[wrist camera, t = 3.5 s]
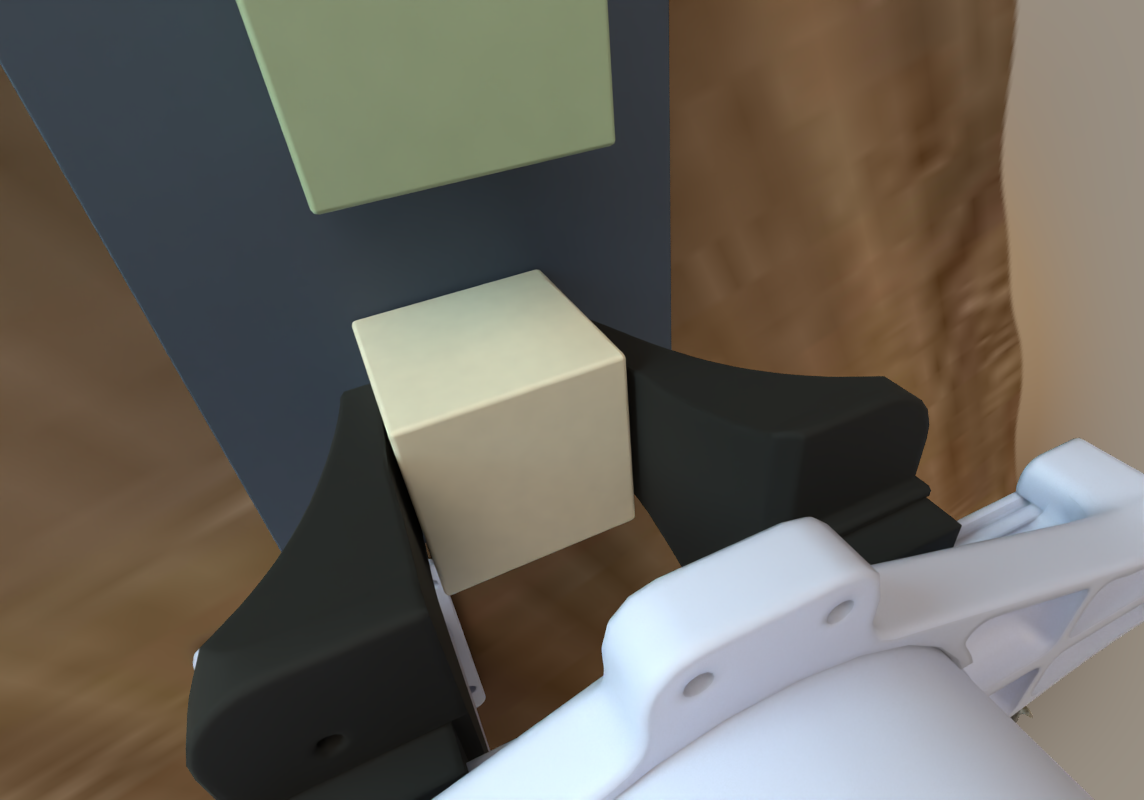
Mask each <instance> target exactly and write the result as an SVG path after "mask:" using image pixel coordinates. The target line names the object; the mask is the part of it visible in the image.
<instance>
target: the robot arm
mask: <svg viewBox="0 0 1144 800" xmlns="http://www.w3.org/2000/svg"><path fill="white" fill-rule="evenodd" d="M589 320H590V319H589ZM590 321H591V322H592V323H593V324H594V325H595V326H596V327H597V328H598V329H599V330H600V331H601V332H602V333H603V334H604V335H605V336H606V337H607V338H608V339H609V340H610V341H611V342H612V343H613V344H614V345H615V346H616V347H617V348H618V349H619V350H620V351H621V352H622V353H623V354H624V355H625V358H626V372H627V389H628V406H629V423H630V440H631V457H632V474H633V491H634V494H635V495H636V497H637V498H638V499H639V500H640V502H641V503H642V505H643V506H644V507H645V509H646V510H647V512H648V513H649V514H650V516H651V518H652V519H653V521H654V522H655V524H656V526H657V527H658V529H659V530H660V532H661V533H662V535H663V537H664V538H665V540H666V541H667V543H668V545H669V546H670V548H671V550H672V551H673V553H674V555H675V556H676V558H677V560H678V561H679V563H680V565H681V566H682V567H681V568H679V569H677V570H675V571H672V572H670V573H668V574H666V575H663V576H661V577H659V578H657V579H655V580H653V581H652V582H650V583H649V584H647V585H646V586H644V587H643V588H641V589H640V590H638V591H636V592H635V593H633V594H632V595H630V596H629V597H628V598H627V599H626V600H625V602H624V603H623V604H622V605H621V606H620V608H619V609H618V610H617V611H616V612H615V614H614V615H613V616H612V617H611V618H610V620H609V622H608V625H607V628H606V632H605V636H604V640H603V644H602V648H601V649H602V657H603V665H604V676H602V677H601V678H599V679H598V680H596V681H595V682H594V683H592V684H591V685H590V686H588V687H587V688H585V689H584V690H583V691H581V692H580V693H578V694H577V695H576V696H574V697H573V698H572V699H570V700H569V701H567V702H566V703H565V704H563V705H562V706H560V707H559V708H558V709H556V710H555V711H554V712H552V713H551V714H549V715H548V716H547V717H545V718H544V719H542V720H541V721H540V722H538V723H537V724H536V725H534V726H533V727H531V728H530V729H529V730H527V731H526V732H524V733H523V734H522V735H520V736H519V737H518V738H516V739H514V740H512V741H510V742H508V743H506V744H503V745H501V746H499V747H497V748H495V749H493V750H491V751H490V749H489V745H488V742H487V739H486V736H485V733H484V730H483V727H482V724H481V721H480V718H479V715H478V712H477V709H476V708H477V707H479V706H480V705H481V704H482V703H483V702H484V701H485V699H486V696H485V693H484V690H483V687H482V684H481V682H480V679H479V676H478V673H477V670H476V667H475V665H474V662H473V659H472V656H471V653H470V650H469V648H468V645H467V642H466V639H465V636H464V633H463V631H462V628H461V625H460V622H459V619H458V616H457V614H456V611H455V608H454V605H453V602H452V599H451V597H450V595H447V594H446V593H445V592H444V590H443V587H442V585H441V582H440V579H439V576H438V573H437V571H436V568H435V565H434V562H433V560H432V559H428V555H427V551H426V546H425V541H424V537H423V532H422V529H421V526H420V524H419V521H418V518H417V515H416V512H415V510H414V507H413V504H412V501H411V499H410V496H409V493H408V490H407V487H406V485H405V482H404V479H403V476H402V474H401V471H400V468H399V465H398V462H397V460H396V457H395V454H394V451H393V449H392V446H391V443H390V440H389V437H388V435H387V431H386V428H385V425H384V422H383V419H382V416H381V413H380V410H379V407H378V404H377V401H376V398H375V395H374V392H373V389H372V386H371V383H370V384H367V385H364V386H360V387H357V388H354V389H351V390H348V391H344V393H343V394H342V396H341V397H340V408H339V415H338V420H337V425H336V429H335V434H334V437H333V441H332V444H331V448H330V451H329V455H328V458H327V461H326V464H325V466H324V469H323V472H322V474H321V477H320V480H319V482H318V485H317V487H316V490H315V492H314V494H313V496H312V499H311V501H310V503H309V505H308V507H307V509H306V511H305V513H304V515H303V517H302V519H301V521H300V523H299V524H298V526H297V528H296V530H295V531H294V533H293V535H292V536H291V538H290V540H289V541H288V543H287V545H286V546H285V548H284V550H283V551H282V553H281V554H280V556H279V557H278V559H277V560H276V562H275V563H274V564H273V566H272V567H271V568H270V570H269V571H268V572H267V574H266V575H265V576H264V578H263V579H262V580H261V582H260V583H259V584H258V585H257V586H256V588H255V589H254V590H253V591H252V593H251V594H250V595H249V596H248V597H247V599H246V600H245V601H244V602H243V603H242V604H241V606H240V607H239V608H238V609H237V610H236V611H235V612H234V613H233V614H232V615H231V616H230V617H229V618H228V619H227V620H226V622H225V623H224V624H223V625H222V626H221V627H220V628H219V629H218V630H217V631H216V632H215V633H214V634H213V635H212V636H211V637H210V638H209V639H208V640H207V641H206V642H205V643H204V644H203V645H202V646H201V647H200V649H199V650H198V651H197V652H196V653H195V654H194V657H193V667H194V670H195V671H194V676H193V680H192V685H191V690H190V695H189V702H188V713H187V735H186V766H187V768H188V769H189V771H190V772H191V774H192V775H193V777H194V779H195V780H196V781H197V782H198V783H199V784H200V785H201V786H202V787H203V788H204V789H205V790H206V791H207V792H208V793H209V794H211V795H212V796H213V797H214V798H215V799H216V800H1094V799H1093V798H1092V797H1091V796H1090V795H1089V794H1088V793H1087V792H1086V791H1085V790H1084V789H1083V788H1082V787H1081V786H1080V785H1079V784H1078V783H1077V782H1076V781H1075V780H1074V779H1073V778H1072V777H1071V776H1070V775H1069V774H1068V773H1067V772H1066V771H1065V770H1064V769H1063V768H1061V767H1060V766H1059V765H1058V764H1057V763H1056V762H1055V761H1054V760H1053V759H1052V758H1051V757H1050V756H1049V755H1048V754H1047V753H1046V752H1045V751H1044V750H1043V749H1042V748H1041V747H1040V746H1039V745H1038V744H1037V743H1036V742H1035V741H1034V740H1033V739H1032V738H1031V737H1030V736H1029V735H1028V734H1027V733H1026V732H1025V731H1024V730H1022V729H1021V728H1020V727H1019V726H1018V725H1017V724H1016V723H1015V722H1014V721H1013V720H1012V719H1011V718H1010V717H1011V716H1013V715H1014V714H1015V713H1017V712H1018V711H1019V710H1021V709H1022V708H1023V707H1025V706H1026V705H1027V704H1029V703H1030V702H1031V701H1032V700H1034V699H1035V698H1037V697H1038V696H1039V695H1041V694H1042V693H1043V692H1045V691H1046V690H1047V689H1049V688H1050V687H1051V686H1053V685H1054V684H1055V683H1057V682H1058V681H1059V680H1061V679H1062V678H1063V677H1065V676H1066V675H1067V674H1069V673H1070V672H1072V671H1073V670H1074V669H1076V668H1077V667H1078V666H1080V665H1081V664H1083V663H1084V662H1085V661H1087V660H1088V659H1089V658H1091V657H1092V656H1094V655H1095V654H1096V653H1098V652H1099V651H1101V650H1102V649H1104V648H1105V647H1107V646H1108V645H1110V644H1111V643H1113V642H1114V641H1115V640H1117V639H1118V638H1120V637H1121V636H1123V635H1124V634H1126V633H1127V632H1129V631H1131V630H1132V629H1133V628H1135V627H1137V626H1138V625H1140V624H1141V623H1143V622H1144V473H1142V472H1140V471H1138V470H1137V469H1135V468H1133V467H1131V466H1129V465H1128V464H1126V463H1124V462H1122V461H1120V460H1119V459H1117V458H1115V457H1113V456H1111V455H1110V454H1108V453H1106V452H1105V451H1103V450H1101V449H1099V448H1097V447H1096V446H1094V445H1092V444H1090V443H1088V442H1087V441H1085V440H1083V439H1081V438H1075V439H1072V440H1070V441H1068V442H1065V443H1063V444H1061V445H1059V446H1057V447H1055V448H1053V449H1051V450H1049V451H1047V452H1045V453H1043V454H1041V455H1039V456H1038V457H1036V458H1034V459H1033V460H1032V461H1031V462H1030V463H1029V464H1028V465H1027V466H1026V467H1025V469H1024V470H1023V472H1022V473H1021V476H1020V478H1019V480H1018V483H1017V486H1016V492H1014V493H1012V494H1010V495H1008V496H1006V497H1004V498H1002V499H1000V500H998V501H996V502H994V503H992V504H990V505H988V506H986V507H984V508H982V509H980V510H978V511H976V512H974V513H972V514H969V515H967V516H965V517H963V518H961V519H959V520H957V521H956V520H955V519H953V518H952V517H951V516H949V515H948V514H947V513H946V512H944V511H943V510H942V509H940V508H939V507H938V506H937V505H935V504H934V503H933V502H931V501H930V500H929V499H927V498H926V497H927V496H929V495H930V492H931V490H930V487H929V486H928V485H927V484H926V483H924V482H923V481H922V480H920V479H919V478H918V477H916V476H915V474H916V471H917V468H918V465H919V461H920V458H921V455H922V452H923V449H924V445H925V442H926V439H927V434H928V429H929V417H928V409H927V408H926V406H925V405H924V403H923V401H922V400H920V399H919V398H917V397H916V396H914V395H913V394H911V393H909V392H908V391H906V390H905V389H903V388H902V387H900V386H899V385H897V384H895V383H894V382H892V381H891V380H889V379H888V378H886V377H884V376H876V377H821V376H803V375H790V374H779V373H772V372H764V371H757V370H750V369H744V368H739V367H733V366H729V365H724V364H720V363H715V362H711V361H706V360H703V359H699V358H695V357H692V356H689V355H685V354H682V353H679V352H676V351H672V350H669V349H666V348H663V347H661V346H658V345H655V344H652V343H649V342H647V341H644V340H641V339H639V338H636V337H634V336H631V335H629V334H626V333H624V332H621V331H619V330H616V329H614V328H611V327H609V326H606V325H604V324H601V323H598V322H596V321H593V320H590Z"/></svg>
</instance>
